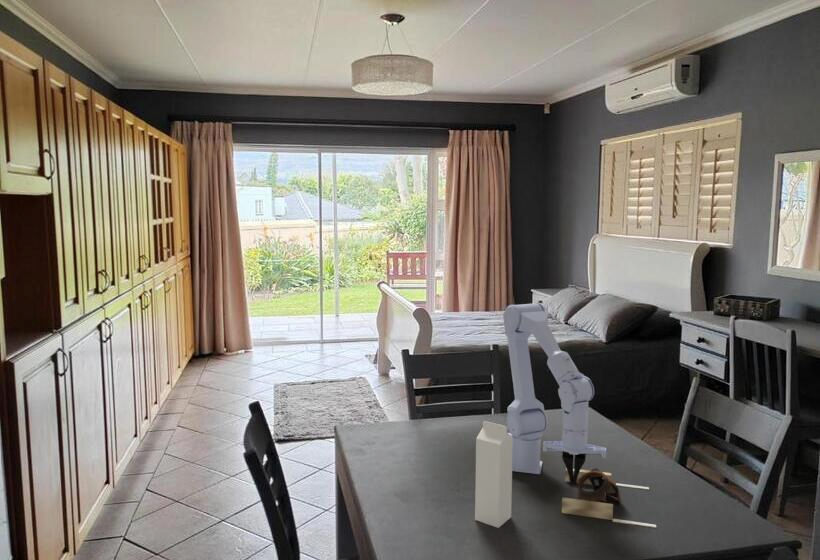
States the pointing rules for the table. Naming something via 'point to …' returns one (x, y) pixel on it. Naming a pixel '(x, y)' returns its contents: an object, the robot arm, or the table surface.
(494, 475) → the milk
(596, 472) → the pottery mug
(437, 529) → the table surface
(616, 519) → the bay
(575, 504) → the cradle
